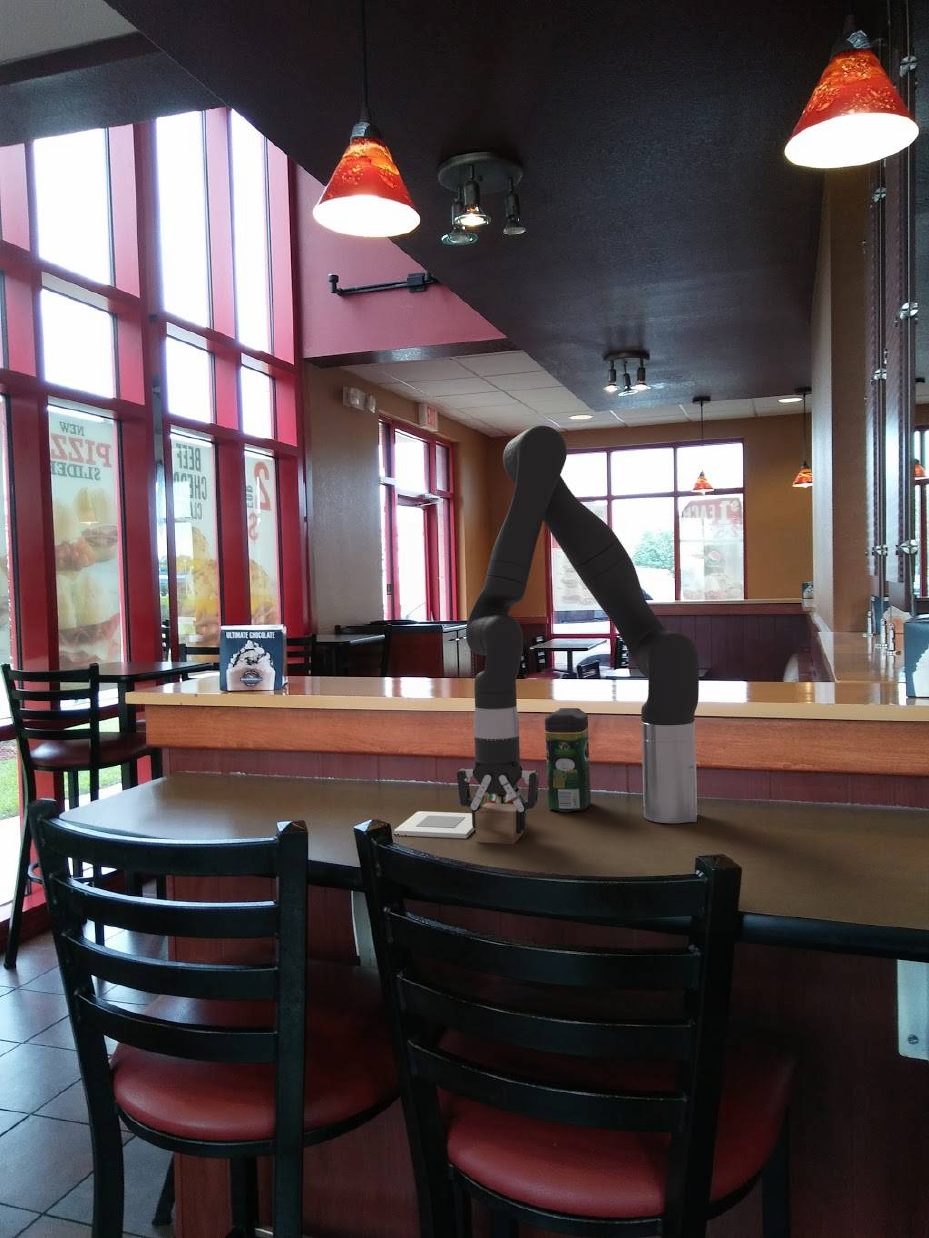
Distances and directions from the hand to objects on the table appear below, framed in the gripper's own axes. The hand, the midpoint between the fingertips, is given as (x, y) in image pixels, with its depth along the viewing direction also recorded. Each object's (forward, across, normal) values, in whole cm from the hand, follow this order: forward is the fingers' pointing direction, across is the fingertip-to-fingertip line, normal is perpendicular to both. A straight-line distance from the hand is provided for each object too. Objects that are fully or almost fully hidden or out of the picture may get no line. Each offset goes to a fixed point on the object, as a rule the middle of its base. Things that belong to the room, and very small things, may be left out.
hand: (499, 831), depth 154 cm
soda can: (+1, +2, -10) cm, 10 cm away
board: (+1, +12, -5) cm, 13 cm away
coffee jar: (+1, -8, -22) cm, 24 cm away
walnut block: (+1, 0, 0) cm, 1 cm away
